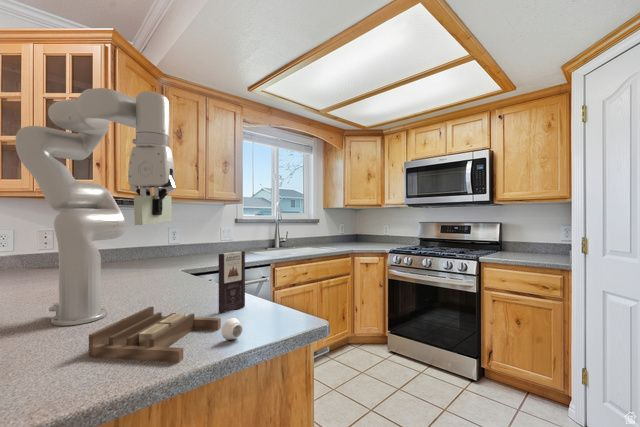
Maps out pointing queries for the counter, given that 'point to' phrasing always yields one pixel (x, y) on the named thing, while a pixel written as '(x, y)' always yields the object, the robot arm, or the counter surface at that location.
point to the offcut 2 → (172, 319)
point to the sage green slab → (145, 210)
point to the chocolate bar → (231, 281)
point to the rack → (124, 339)
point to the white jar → (231, 329)
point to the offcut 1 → (151, 333)
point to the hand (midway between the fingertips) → (152, 214)
